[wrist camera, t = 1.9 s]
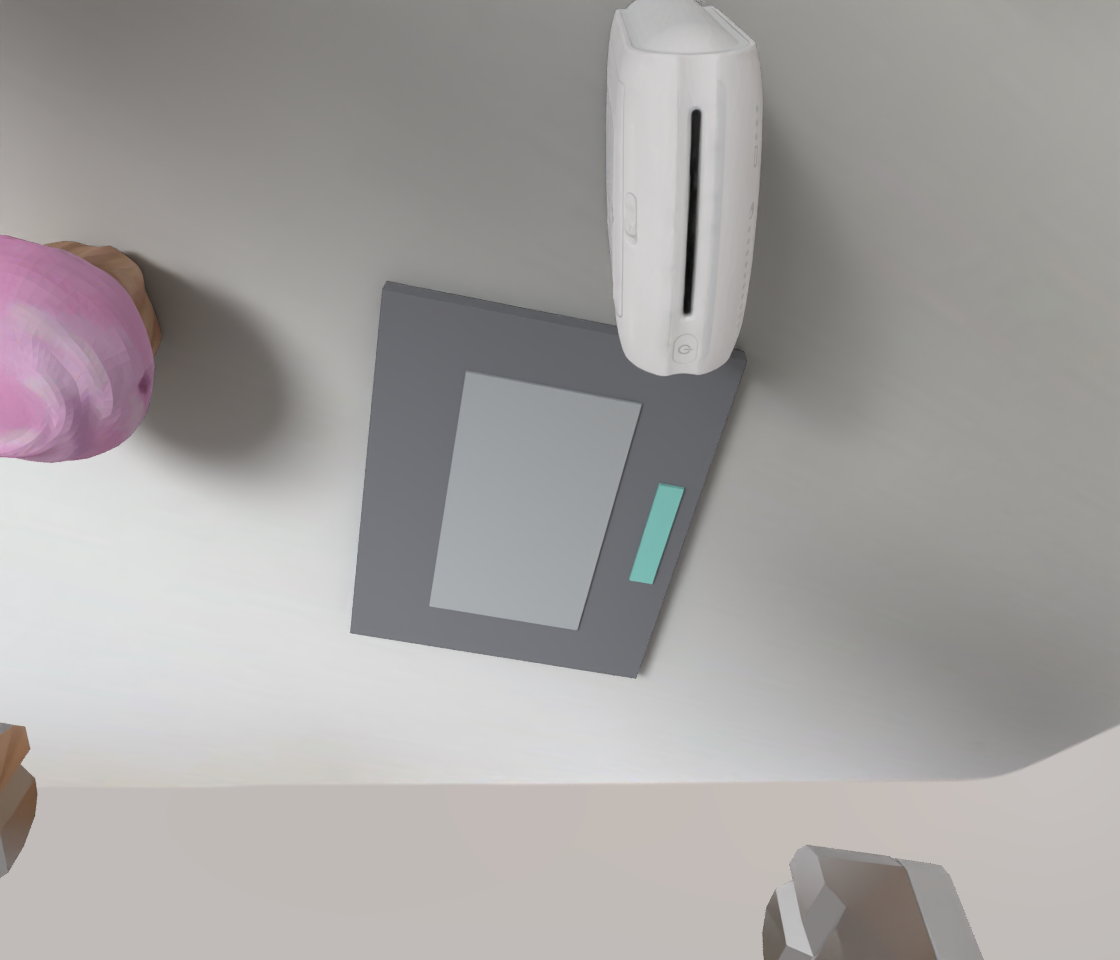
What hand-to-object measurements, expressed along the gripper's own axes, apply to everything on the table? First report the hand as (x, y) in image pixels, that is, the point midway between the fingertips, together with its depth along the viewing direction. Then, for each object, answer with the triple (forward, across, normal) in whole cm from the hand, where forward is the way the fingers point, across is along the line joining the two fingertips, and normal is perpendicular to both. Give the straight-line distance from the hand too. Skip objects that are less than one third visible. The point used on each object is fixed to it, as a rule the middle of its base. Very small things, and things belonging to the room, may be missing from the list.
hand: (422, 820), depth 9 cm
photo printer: (+31, -4, -2) cm, 31 cm away
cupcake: (+31, +18, +9) cm, 37 cm away
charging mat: (+31, -2, +16) cm, 35 cm away
